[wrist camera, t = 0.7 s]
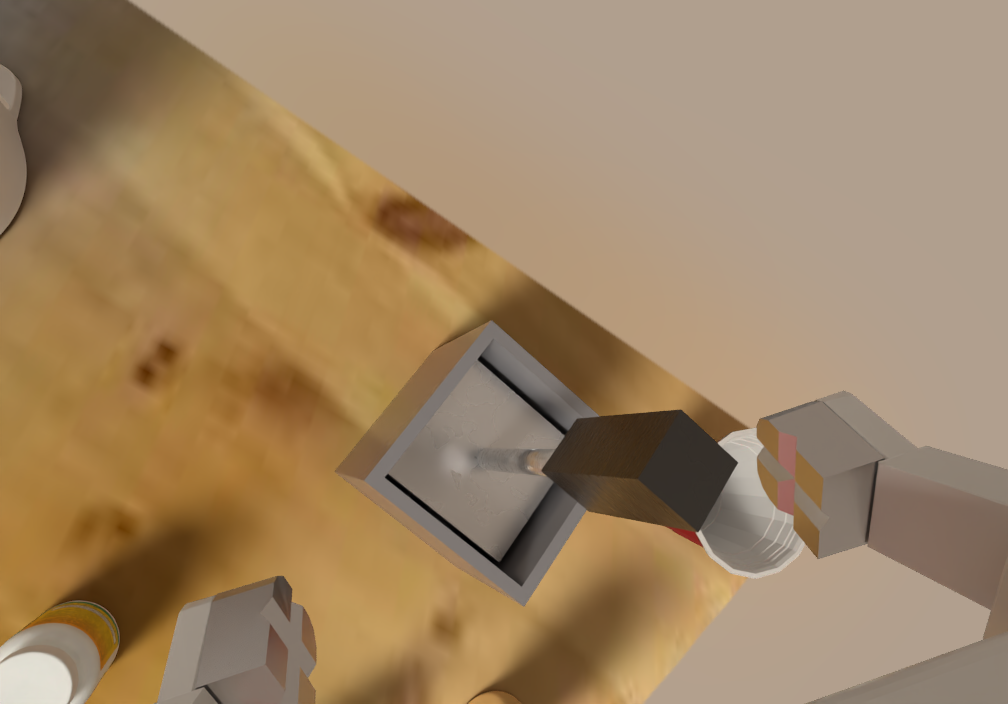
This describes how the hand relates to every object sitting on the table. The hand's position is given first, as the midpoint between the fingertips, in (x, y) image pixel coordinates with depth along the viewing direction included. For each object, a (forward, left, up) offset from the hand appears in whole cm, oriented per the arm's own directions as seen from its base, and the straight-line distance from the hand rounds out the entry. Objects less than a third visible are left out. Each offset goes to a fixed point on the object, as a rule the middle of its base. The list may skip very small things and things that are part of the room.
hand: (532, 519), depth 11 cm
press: (+7, +6, -41) cm, 42 cm away
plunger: (+7, +6, -31) cm, 33 cm away
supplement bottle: (-5, -18, -41) cm, 45 cm away
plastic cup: (+25, +16, -41) cm, 51 cm away
